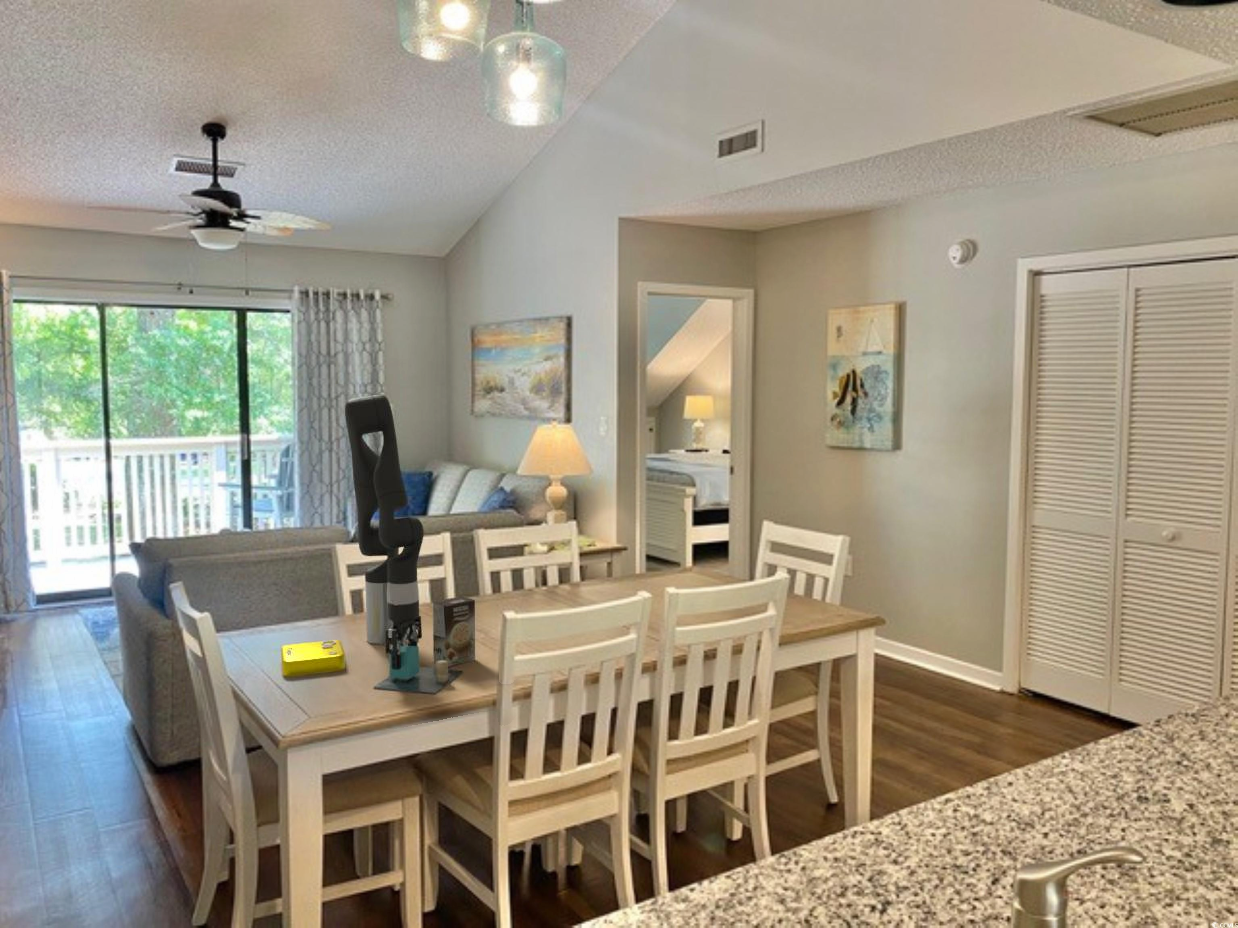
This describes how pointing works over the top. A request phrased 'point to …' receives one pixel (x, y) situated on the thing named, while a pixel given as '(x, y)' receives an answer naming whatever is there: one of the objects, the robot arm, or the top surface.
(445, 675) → the birch peg
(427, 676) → the grey square base plate
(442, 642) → the coffee box
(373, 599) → the robot arm
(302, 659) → the element tile
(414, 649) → the teal toy cube
